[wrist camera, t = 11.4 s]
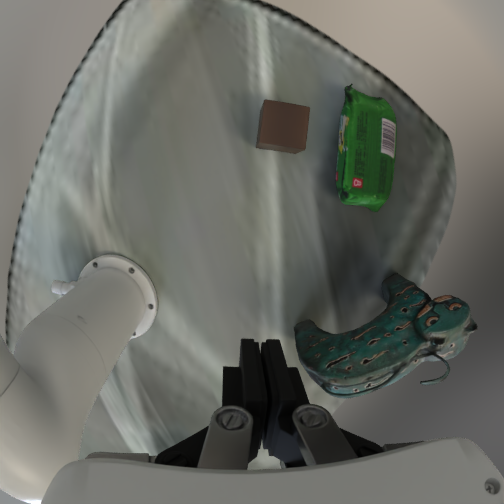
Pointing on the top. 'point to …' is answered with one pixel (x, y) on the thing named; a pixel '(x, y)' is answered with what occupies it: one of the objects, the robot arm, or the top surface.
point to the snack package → (365, 150)
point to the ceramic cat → (386, 341)
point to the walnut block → (282, 127)
